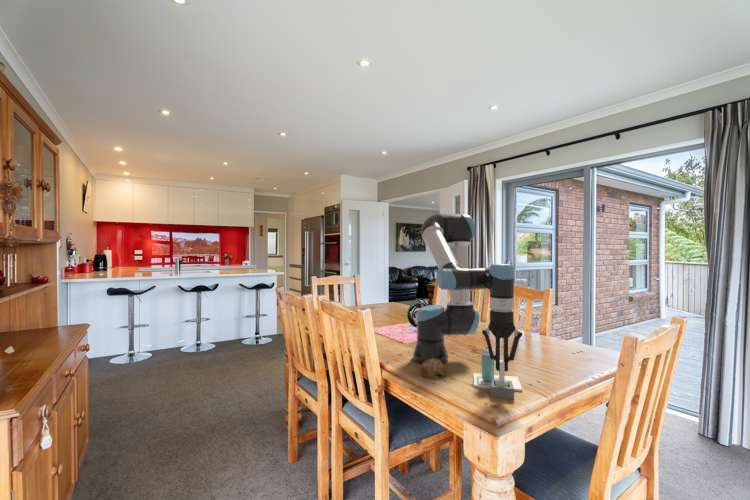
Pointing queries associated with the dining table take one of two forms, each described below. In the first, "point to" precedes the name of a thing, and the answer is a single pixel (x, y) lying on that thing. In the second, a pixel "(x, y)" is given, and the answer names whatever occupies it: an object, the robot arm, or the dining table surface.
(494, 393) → the button housing
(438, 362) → the bread roll
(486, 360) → the white-capped teal capsule
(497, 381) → the button
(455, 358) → the dining table surface
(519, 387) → the sheet
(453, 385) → the dining table surface
